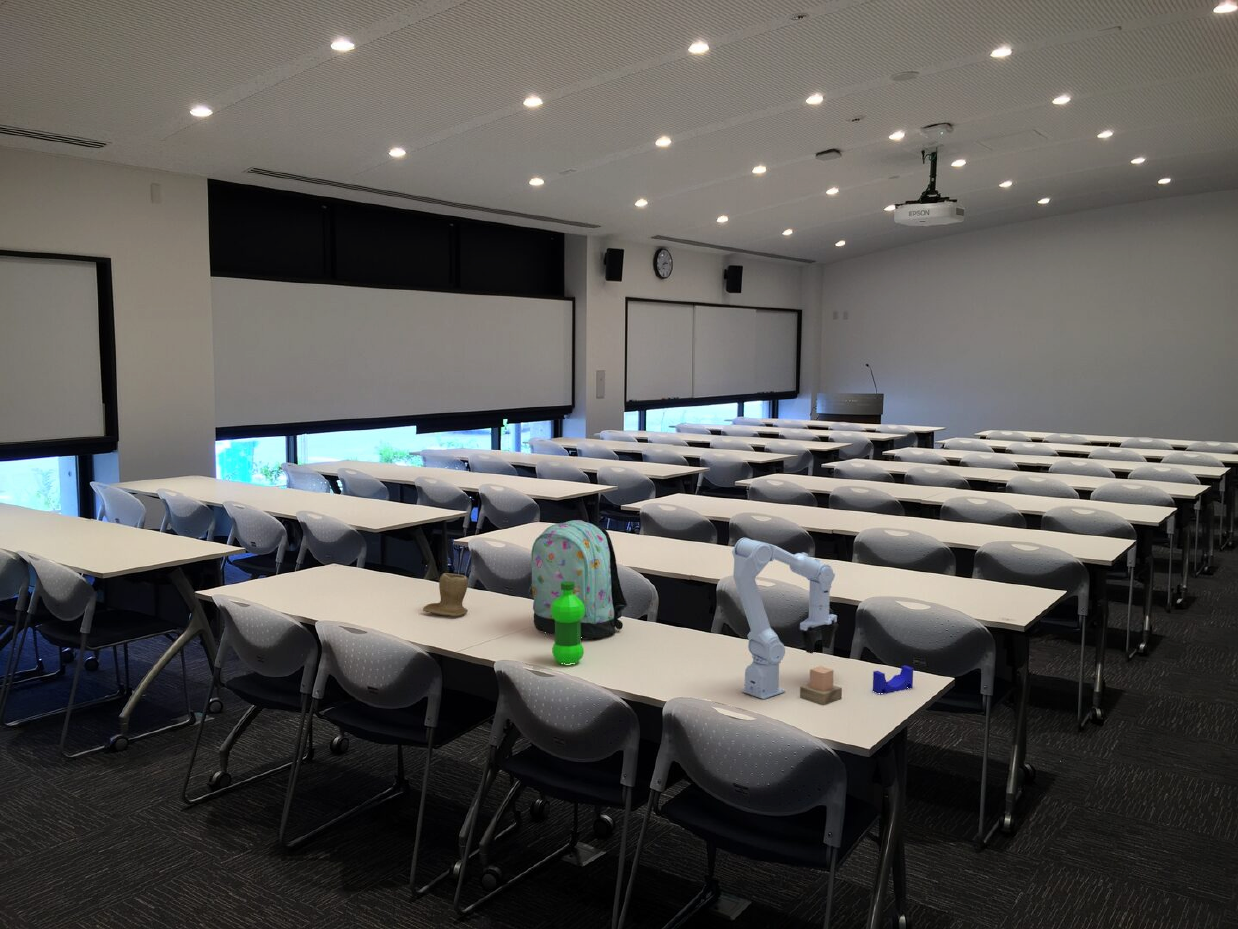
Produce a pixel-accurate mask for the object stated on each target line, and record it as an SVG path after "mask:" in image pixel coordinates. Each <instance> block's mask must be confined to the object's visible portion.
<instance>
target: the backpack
mask: <svg viewBox="0 0 1238 929" xmlns="http://www.w3.org/2000/svg"><path fill="white" fill-rule="evenodd" d="M530 555H531V556H530V557H531V585H530V587H529V591H528V592H527V593H528V594H529V593H530V594H529V598H533V603H532V610H533V625H534V628H535V629H536V630H537V631H539V630H540V631H539V632H541V633H544V632H546V633H549V634H548V635H550V634H553V635H555V620H554V618H553V617H552V614H551V605H552V603H553V602H554V601H555V600H556V599H557V598H558V597H559V596H561V595H562V594H563V590H561V583H562V582H574V583H575V589H574V590H573V594H574V595H575V596H576V597H577V598H579V599H580V600H581V601H582V603H583V604H584V607H585V614H584V617H583V618H582V619H581V637H582V638H581V639H583V638H588V640H590V639H591V640H594V639H593V638H599V639H602V637H603V638H605V637H606V636H608V635H607V634H609V635H614V634H615V633H616V632H617V630H622V629H623V624H624V623H623V621H621V620H620V618H621V617H622V611H623V610H625V608H627V607H628V603H627V601H626V598H625V596H624V592H623V589H622V587H621V581H620V577H619V573H618V565H617V558H616V553H615V550H614V545H613V542H612V539H611V536H610V535H609V533H608V531H607V529H605V528H604V527H602V526H598V525H595V524H593V523H590V522H585V521H583V520H582V519H580V520H579V519H577V520H576V519H575V520H569V521H566V522H561V523H560V522H559V523H555V524H552V525H551V526H550V525H549V526H548V527H547V528H545V529H544V530H543V532H542V533H541V534H540V535H539V536H537V537H536V539H535V540H534V542H533V545H532V547H531V554H530ZM616 629H617V630H616ZM546 633H545V634H546ZM613 633H614V634H613Z"/></svg>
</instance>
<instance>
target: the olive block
mask: <svg viewBox="0 0 1238 929" xmlns="http://www.w3.org/2000/svg"><path fill="white" fill-rule="evenodd" d="M842 692H843V689H842V687H841V686H838V685H835V684H833V688H831V689H828V690H825V691H820V690H817V689H814V688H811V687H810V682H809V683H808V684H807V683H806V684H804V685H801V686H800V688H799V697H800V699H801V698H802V699H805V700H807V701H809V702H813V703H816V704H819V705H822V706H826V705H828V704H830V703H833V702H836V701H838V699H839V700H841V699H842V698H843V696H842V694H843V693H842Z"/></svg>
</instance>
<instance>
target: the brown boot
mask: <svg viewBox="0 0 1238 929" xmlns="http://www.w3.org/2000/svg"><path fill="white" fill-rule="evenodd" d="M468 584H469V581H468V577H467V576H466V575H462V574H457V573H449V572H444V573H442V574H441V575H440V578H439V581H438V585H439V586H438V588H439V595H440V601H439V602H432V603H431V602H430V603H428V604H426V605H425V606H424V607H423V608H422V612H425V613H429V612H430V614H434V613H436V614H435V615H439V614H442V615H441V616H446V615H449V616H448V617H460V616H459V615H461V616H463V615H462V614H464V615H466V614H467V613H468V611H469V610H468V609H467V608H465V607H464V606H463V605H464V604H463V601H464V599H465V596H466V594H467V590H468ZM465 613H466V614H465Z"/></svg>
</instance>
